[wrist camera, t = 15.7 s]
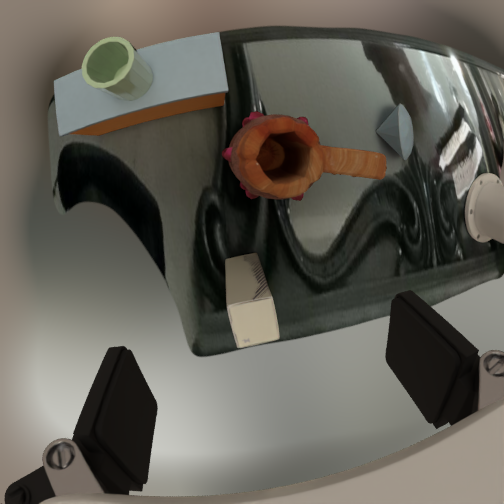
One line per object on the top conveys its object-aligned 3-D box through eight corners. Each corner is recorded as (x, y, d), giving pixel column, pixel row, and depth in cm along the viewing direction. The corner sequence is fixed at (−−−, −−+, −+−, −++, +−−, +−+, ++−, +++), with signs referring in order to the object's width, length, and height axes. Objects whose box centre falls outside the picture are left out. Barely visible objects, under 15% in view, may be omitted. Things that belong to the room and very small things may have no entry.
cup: (150, 55, 21) (131, 29, 15) (155, 94, 22) (136, 78, 16) (109, 67, 20) (80, 48, 14) (113, 106, 22) (83, 95, 16)
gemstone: (368, 155, 33) (408, 156, 30) (366, 96, 31) (404, 95, 28) (382, 162, 38) (415, 164, 35) (380, 112, 37) (412, 112, 34)
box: (263, 285, 40) (281, 342, 28) (231, 292, 40) (237, 351, 28) (256, 249, 38) (274, 296, 26) (222, 256, 38) (225, 306, 26)
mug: (220, 186, 35) (221, 211, 21) (223, 119, 33) (226, 97, 18) (335, 192, 37) (398, 219, 23) (340, 130, 34) (408, 124, 20)
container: (218, 61, 30) (219, 31, 21) (225, 106, 32) (228, 90, 23) (91, 94, 29) (53, 80, 20) (97, 137, 31) (59, 136, 22)
